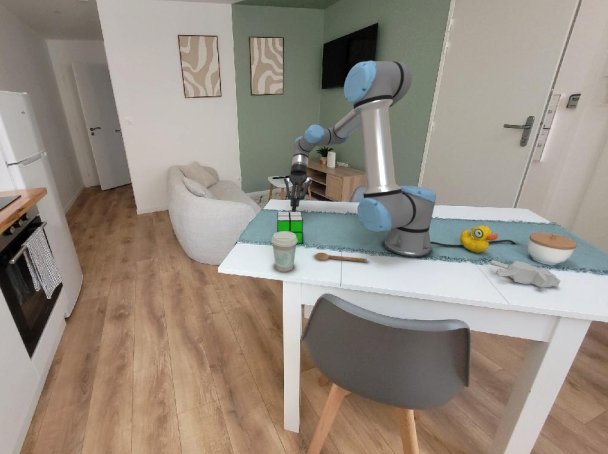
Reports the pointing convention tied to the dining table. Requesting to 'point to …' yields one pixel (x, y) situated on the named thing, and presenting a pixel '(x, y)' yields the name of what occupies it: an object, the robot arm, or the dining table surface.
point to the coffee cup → (284, 250)
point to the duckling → (477, 238)
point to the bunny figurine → (527, 274)
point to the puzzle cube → (291, 223)
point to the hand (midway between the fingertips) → (293, 212)
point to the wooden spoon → (337, 257)
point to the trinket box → (550, 248)
